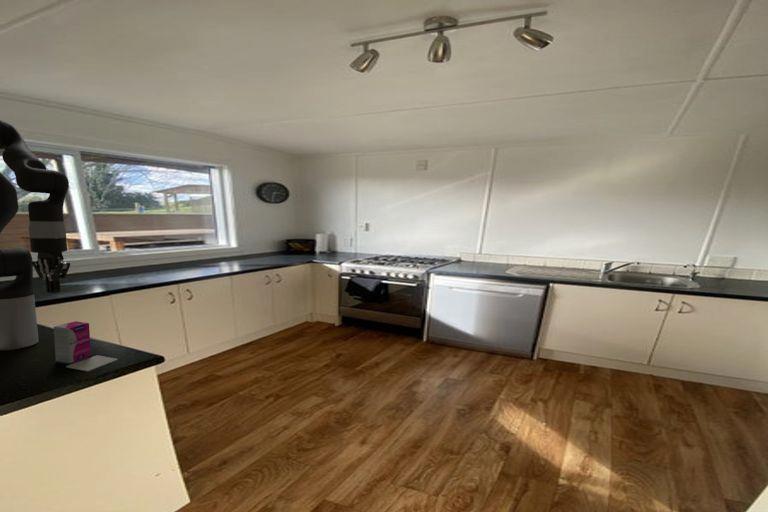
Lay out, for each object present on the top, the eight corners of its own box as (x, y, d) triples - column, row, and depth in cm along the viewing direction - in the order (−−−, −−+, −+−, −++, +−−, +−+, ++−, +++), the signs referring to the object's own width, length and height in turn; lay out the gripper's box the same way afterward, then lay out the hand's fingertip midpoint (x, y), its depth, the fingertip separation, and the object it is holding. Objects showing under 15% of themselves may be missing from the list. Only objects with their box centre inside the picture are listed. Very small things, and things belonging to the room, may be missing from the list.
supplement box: (70, 365, 92) (67, 328, 91) (55, 363, 93) (51, 326, 92) (92, 357, 98) (89, 322, 96) (77, 355, 99) (74, 320, 97)
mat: (66, 367, 91) (65, 366, 90) (97, 356, 98) (97, 355, 98) (87, 371, 88) (87, 370, 88) (118, 359, 96) (118, 359, 96)
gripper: (16, 236, 91) (22, 293, 93) (47, 237, 88) (53, 296, 89) (49, 235, 98) (54, 288, 100) (79, 236, 95) (83, 291, 97)
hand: (53, 292), depth 95 cm, fingers closed
